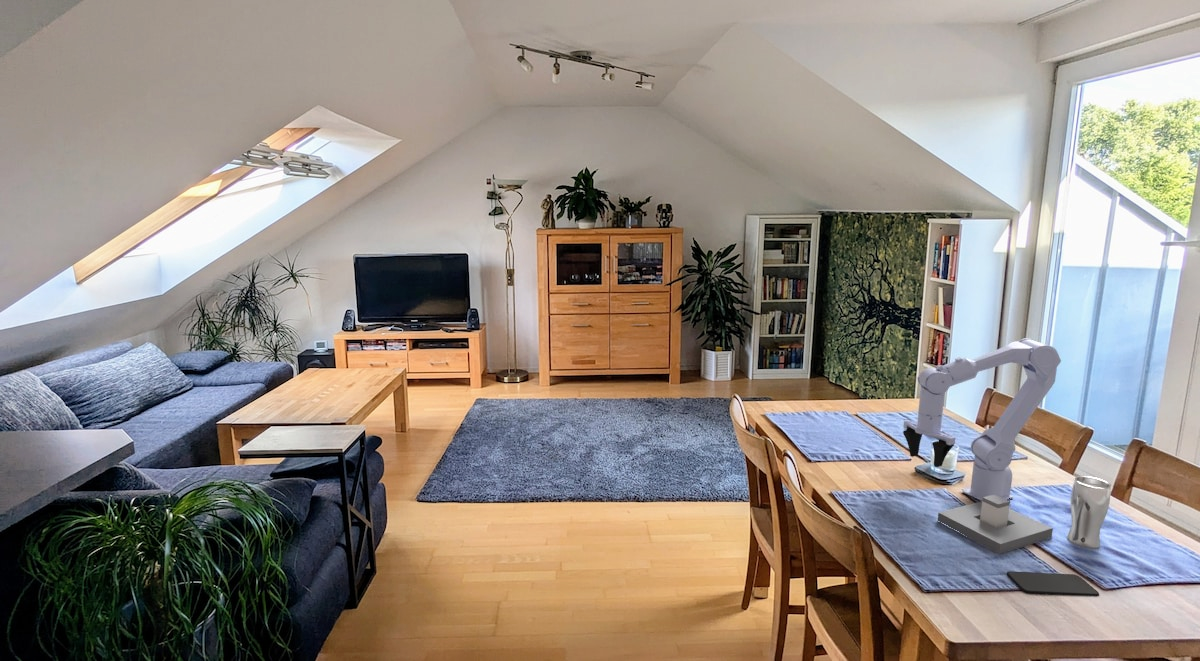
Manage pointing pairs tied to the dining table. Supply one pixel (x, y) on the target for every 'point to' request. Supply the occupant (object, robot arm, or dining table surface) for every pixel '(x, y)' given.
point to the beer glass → (1088, 510)
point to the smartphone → (1051, 584)
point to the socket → (998, 540)
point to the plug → (995, 511)
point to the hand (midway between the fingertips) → (925, 460)
